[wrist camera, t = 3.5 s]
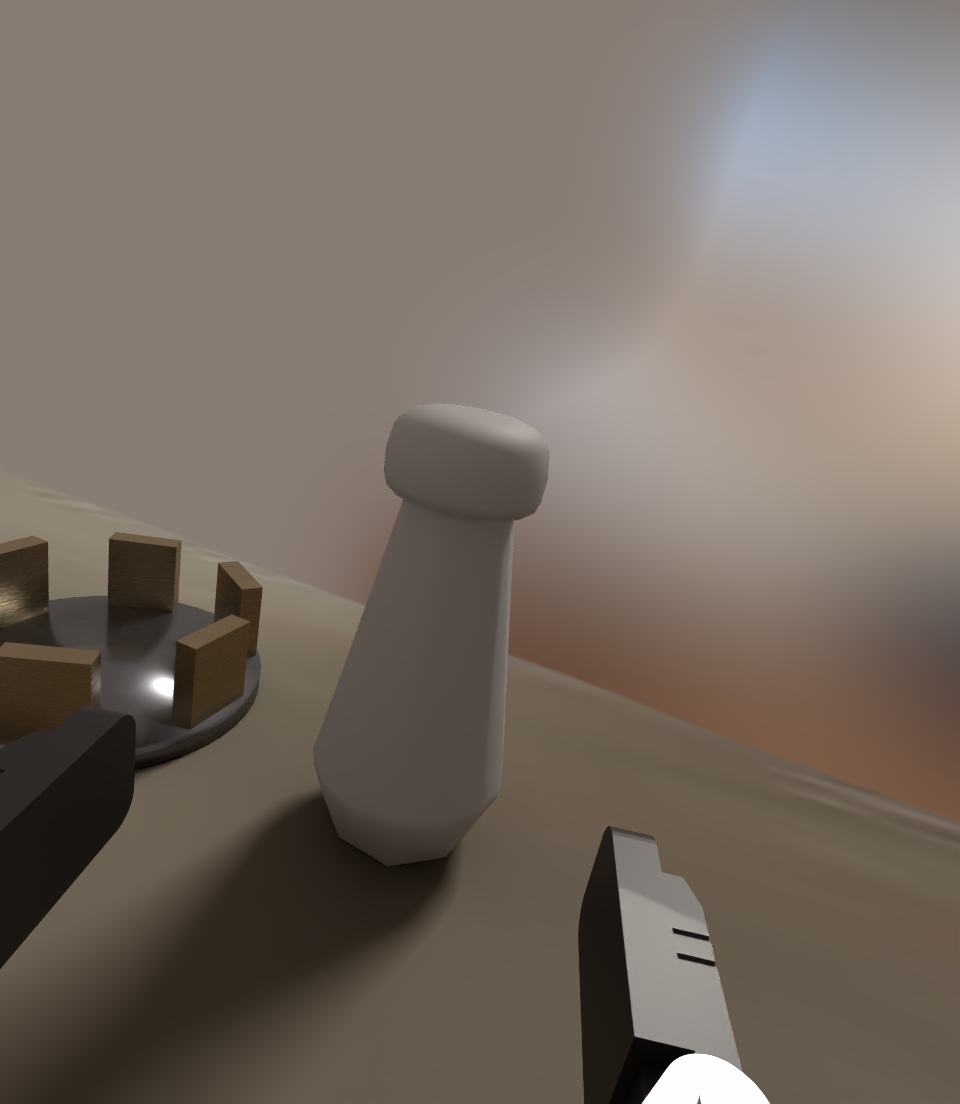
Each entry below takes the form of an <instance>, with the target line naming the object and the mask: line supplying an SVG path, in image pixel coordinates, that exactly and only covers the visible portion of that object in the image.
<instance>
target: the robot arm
mask: <svg viewBox="0 0 960 1104" xmlns="http://www.w3.org/2000/svg"><path fill="white" fill-rule="evenodd" d="M135 743H136V723H135V719H134V718H133V716H131V715H128V714H123V713H119V712H115V711H110V710H106V709H102V708H97V707H93V706H84V707H81V708H80V709H79V710H77V711H76V712H75V713H74V714H72V715H71V716H70V717H69V718H68V719H66V720H65V721H64V722H63V723H62V724H60V725H59V726H58V727H57V728H56V729H54V730H49V729H44V728H42V729H40V730H38V731H35V732H33V733H31V734H29V735H26V736H24V737H22V738H19V739H17V740H15V741H13V742H10V743H8V744H7V745H5V746H4V747H3V748H2V749H0V969H1V968H2V966H3V965H4V964H5V963H6V962H7V960H8V959H9V958H10V957H11V956H12V955H13V953H14V952H15V951H16V950H17V949H18V947H19V946H20V945H21V944H22V943H23V941H24V940H25V939H26V938H27V937H28V936H29V934H30V933H31V932H32V931H33V930H34V928H35V927H36V926H37V925H38V924H39V922H40V921H41V920H42V919H43V918H44V917H45V915H46V914H47V913H48V912H49V911H50V909H51V908H52V907H53V906H54V905H55V904H56V902H57V901H58V900H59V899H60V898H61V896H62V895H63V894H64V893H65V892H66V890H67V889H68V888H69V887H70V886H71V885H72V883H73V882H74V881H75V880H76V879H77V877H78V876H79V875H80V874H81V873H82V871H83V870H84V869H85V868H86V867H87V866H88V864H89V863H90V862H91V861H92V860H93V858H94V857H95V856H96V855H97V854H98V852H99V851H100V850H101V849H102V848H103V847H104V845H105V844H106V843H107V842H108V841H109V839H110V838H111V837H112V836H113V835H114V834H115V832H116V831H117V830H118V829H119V827H120V826H121V824H122V823H123V821H124V819H125V817H126V815H127V813H128V810H129V808H130V805H131V802H132V798H133V793H134V772H135ZM578 944H579V972H580V1000H581V1027H582V1055H583V1082H584V1104H769V1102H768V1101H767V1099H766V1098H765V1096H764V1095H763V1094H762V1092H761V1091H760V1090H759V1089H758V1088H757V1086H756V1085H755V1084H754V1083H753V1082H752V1081H751V1080H750V1079H749V1078H748V1077H747V1076H746V1075H744V1074H743V1071H742V1067H741V1064H740V1060H739V1056H738V1052H737V1048H736V1044H735V1039H734V1035H733V1031H732V1027H731V1023H730V1019H729V1015H728V1011H727V1007H726V1003H725V999H724V995H723V991H722V987H721V982H720V978H719V974H718V970H717V968H715V958H714V954H713V950H712V946H711V942H709V934H708V930H707V925H706V921H705V917H704V913H703V909H702V906H701V904H700V903H699V901H698V900H697V898H696V897H695V895H694V894H693V892H692V891H691V889H690V888H689V886H688V885H687V883H686V882H685V880H684V879H683V877H680V876H675V875H671V874H667V873H662V871H661V866H660V861H659V855H658V850H657V845H656V841H655V838H654V837H653V836H650V835H646V834H641V833H637V832H633V831H628V830H624V829H619V828H615V827H611V826H608V827H607V828H606V830H605V832H604V834H603V837H602V840H601V843H600V847H599V850H598V853H597V856H596V859H595V862H594V866H593V869H592V872H591V875H590V878H589V882H588V885H587V888H586V891H585V894H584V898H583V902H582V907H581V912H580V920H579V931H578Z"/></svg>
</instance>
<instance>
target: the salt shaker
mask: <svg viewBox="0 0 960 1104" xmlns="http://www.w3.org/2000/svg"><path fill="white" fill-rule="evenodd" d="M548 465H549V450H548V446H547V444H546V443H545V441H544V439H543V437H542V436H541V434H540V433H539V431H537V430H535V429H533V428H532V427H530V426H528V425H526V424H525V423H523V422H521V421H519V420H517V419H516V418H513V417H510V416H506V415H503V414H500V413H497V412H492V411H488V410H484V409H480V408H475V407H468V406H462V405H454V404H444V403H441V404H429V405H420V406H413V407H412V408H411V409H409V410H408V411H406V412H405V413H404V414H402V415H401V416H399V417H398V419H397V420H396V421H395V422H394V424H393V428H392V431H391V433H390V436H389V439H388V442H387V445H386V453H385V465H384V473H385V478H386V483H387V485H388V486H389V487H390V488H391V489H392V490H393V491H394V493H395V494H396V495H398V496H399V497H401V498H402V499H403V502H402V505H401V508H400V510H399V513H398V516H397V519H396V521H395V524H394V527H393V530H392V533H391V536H390V538H389V541H388V544H387V547H386V550H385V552H384V555H383V558H382V561H381V564H380V567H379V569H378V572H377V575H376V578H375V581H374V584H373V587H372V589H371V592H370V595H369V598H368V600H367V603H366V606H365V609H364V612H363V615H362V617H361V620H360V623H359V626H358V629H357V632H356V634H355V637H354V640H353V643H352V646H351V648H350V651H349V654H348V657H347V660H346V663H345V665H344V668H343V671H342V674H341V677H340V679H339V682H338V685H337V687H336V690H335V693H334V695H333V698H332V701H331V703H330V706H329V709H328V711H327V714H326V716H325V719H324V722H323V724H322V727H321V730H320V732H319V735H318V738H317V740H316V743H315V745H314V748H313V750H314V764H315V768H316V772H317V776H318V779H319V783H320V787H321V791H322V794H323V796H324V799H325V802H326V804H327V807H328V810H329V812H330V815H331V818H332V820H333V823H334V826H335V828H336V831H337V834H338V836H339V837H340V838H342V839H343V840H345V841H347V842H348V843H350V844H351V845H353V846H355V847H356V848H358V849H360V850H361V851H363V852H365V853H366V854H368V855H370V856H371V857H373V858H374V859H376V860H378V861H379V862H381V863H383V864H384V865H386V866H394V865H401V864H407V863H413V862H419V861H425V860H432V859H438V858H444V857H446V856H447V855H448V854H449V853H450V851H451V850H452V849H453V848H454V847H455V846H456V844H457V843H458V842H459V841H460V840H461V839H462V837H463V836H464V835H465V834H466V833H467V831H468V830H469V829H470V828H471V827H472V826H473V824H474V823H475V822H476V821H477V820H478V819H479V817H480V816H481V815H482V814H483V813H484V812H485V810H486V809H487V808H488V807H489V806H490V805H491V803H492V802H493V801H494V800H495V799H496V797H497V794H498V792H499V790H500V787H501V785H502V764H503V742H504V722H505V701H506V680H507V660H508V638H509V637H508V636H509V617H510V596H511V577H512V555H513V535H514V520H519V519H522V518H524V517H527V516H529V515H531V514H534V513H535V511H536V509H537V508H538V506H539V505H540V503H541V500H542V497H543V493H544V490H545V486H546V483H547V480H548Z"/></svg>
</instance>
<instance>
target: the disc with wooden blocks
mask: <svg viewBox="0 0 960 1104" xmlns="http://www.w3.org/2000/svg"><path fill="white" fill-rule="evenodd" d="M180 558H181V541H180V540H173V539H165V538H157V537H149V536H141V535H133V534H126V533H118V532H115V533H114V534H113V535H112V536H111V537H110V538H109V569H108V596H88V597H74V598H65V599H57V600H50V601H49V594H48V542H47V541H45V540H42V539H40V538H37V537H34V536H30V537H26V538H22V539H18V540H14V541H10V542H6V543H2V544H0V749H2V748H3V747H4V746H5V745H7V744H8V743H10V742H13V741H15V740H17V739H19V738H22V737H24V736H26V735H29V734H31V733H33V732H35V731H38V730H40V729H42V728H44V729H49V730H54V729H56V728H57V727H58V726H59V725H60V724H62V723H63V722H64V721H65V720H66V719H68V718H69V717H70V716H71V715H72V714H74V713H75V712H76V711H77V710H79V709H80V708H81V707H84V706H93V707H97V708H102V709H106V710H110V711H115V712H119V713H123V714H128V715H131V716H133V718H134V719H135V723H136V743H135V769H138V768H143V767H147V766H151V765H154V764H158V763H161V762H165V761H168V760H171V759H174V758H176V757H179V756H182V755H185V754H187V753H190V752H192V751H194V750H196V749H198V748H200V747H202V746H205V745H207V744H209V743H210V742H212V741H213V740H215V739H217V738H218V737H220V736H222V735H223V734H225V733H226V732H227V731H228V730H230V729H231V728H232V727H234V726H235V725H236V724H237V723H238V722H239V721H240V720H241V719H242V718H243V717H244V716H245V715H246V714H247V712H248V711H249V709H250V708H251V706H252V705H253V703H254V700H255V698H256V696H257V693H258V686H259V678H260V668H261V664H260V656H259V653H258V651H257V638H258V628H259V618H260V608H261V598H262V588H263V587H262V586H261V585H260V584H259V583H258V582H257V581H256V580H255V579H254V578H253V577H252V576H251V575H250V574H249V573H248V571H247V570H246V569H245V568H244V567H243V566H242V565H241V564H240V563H239V562H238V561H236V562H223V563H218V574H217V588H216V601H215V614H213V613H210V612H208V611H205V610H202V609H199V608H196V607H192V606H189V605H185V604H181V603H178V593H179V576H180Z"/></svg>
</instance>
